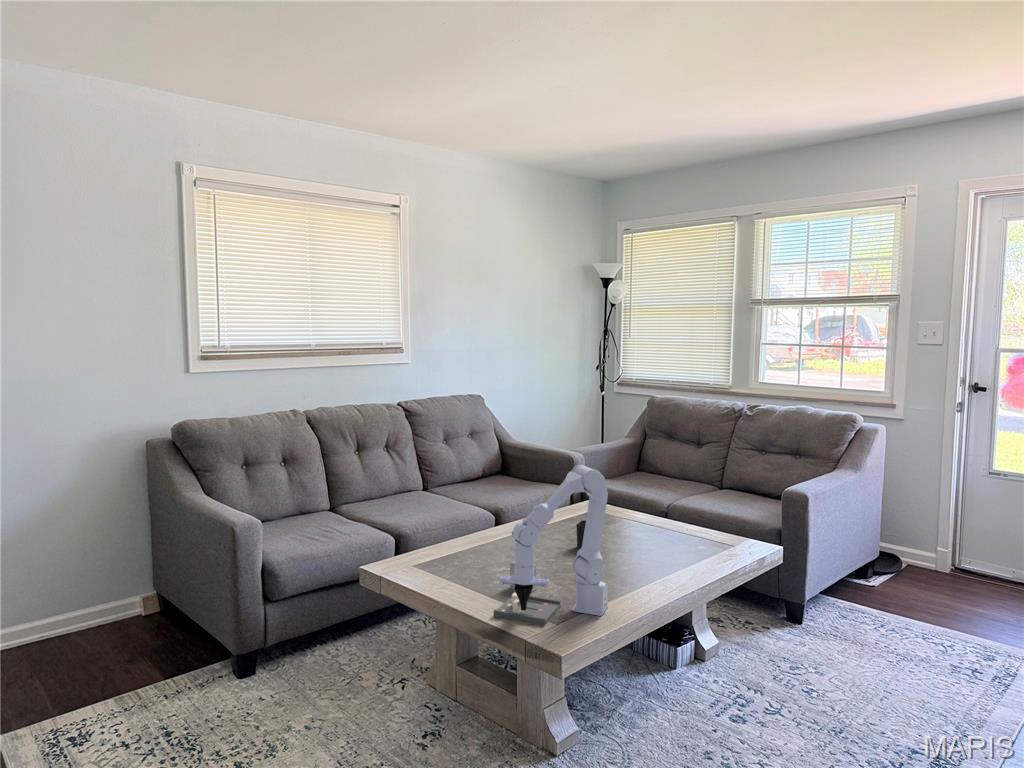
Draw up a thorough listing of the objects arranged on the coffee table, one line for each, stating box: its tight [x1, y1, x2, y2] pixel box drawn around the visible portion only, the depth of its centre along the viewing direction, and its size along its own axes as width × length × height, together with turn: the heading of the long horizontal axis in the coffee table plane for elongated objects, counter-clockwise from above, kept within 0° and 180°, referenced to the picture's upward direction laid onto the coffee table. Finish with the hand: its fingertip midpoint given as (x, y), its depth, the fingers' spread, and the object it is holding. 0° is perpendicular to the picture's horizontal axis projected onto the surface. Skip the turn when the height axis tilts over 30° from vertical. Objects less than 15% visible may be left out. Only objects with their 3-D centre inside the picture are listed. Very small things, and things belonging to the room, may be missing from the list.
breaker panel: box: [493, 592, 562, 627], centre depth 209 cm, size 16×15×2 cm
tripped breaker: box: [513, 600, 521, 614], centre depth 205 cm, size 2×2×4 cm
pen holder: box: [576, 519, 586, 550], centre depth 270 cm, size 9×9×10 cm
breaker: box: [511, 592, 519, 607], centre depth 210 cm, size 2×2×4 cm
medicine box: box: [509, 560, 537, 593], centre depth 227 cm, size 8×4×9 cm, turn 48°
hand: (523, 609), depth 204 cm, fingers closed
